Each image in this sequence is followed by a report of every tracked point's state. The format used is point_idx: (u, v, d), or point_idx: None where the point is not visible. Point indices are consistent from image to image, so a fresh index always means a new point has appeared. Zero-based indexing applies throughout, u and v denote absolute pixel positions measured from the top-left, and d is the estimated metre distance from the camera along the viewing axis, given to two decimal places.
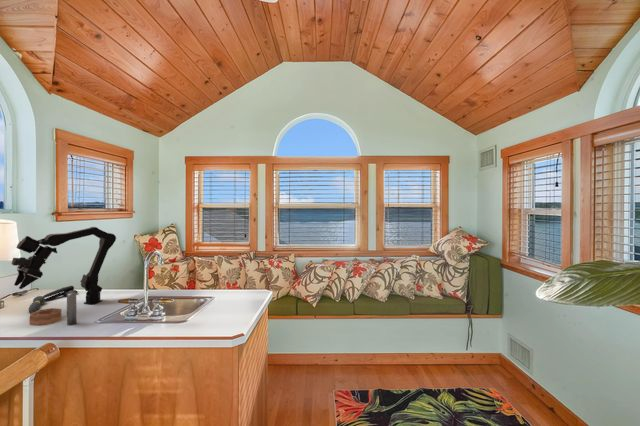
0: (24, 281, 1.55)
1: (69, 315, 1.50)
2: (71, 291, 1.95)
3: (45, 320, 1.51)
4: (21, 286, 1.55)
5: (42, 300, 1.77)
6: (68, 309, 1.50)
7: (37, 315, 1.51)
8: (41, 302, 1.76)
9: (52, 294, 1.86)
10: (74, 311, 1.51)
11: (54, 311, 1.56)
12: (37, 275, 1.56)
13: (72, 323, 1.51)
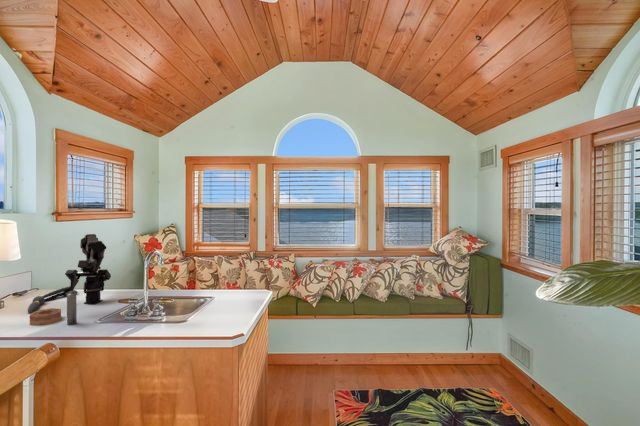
0: (96, 282, 1.61)
1: (69, 315, 1.50)
2: (71, 291, 1.95)
3: (45, 320, 1.51)
4: (93, 287, 1.60)
5: (42, 300, 1.77)
6: (68, 309, 1.50)
7: (37, 315, 1.51)
8: (41, 302, 1.76)
9: (52, 294, 1.86)
10: (74, 311, 1.51)
11: (54, 311, 1.56)
12: (109, 276, 1.66)
13: (72, 323, 1.51)
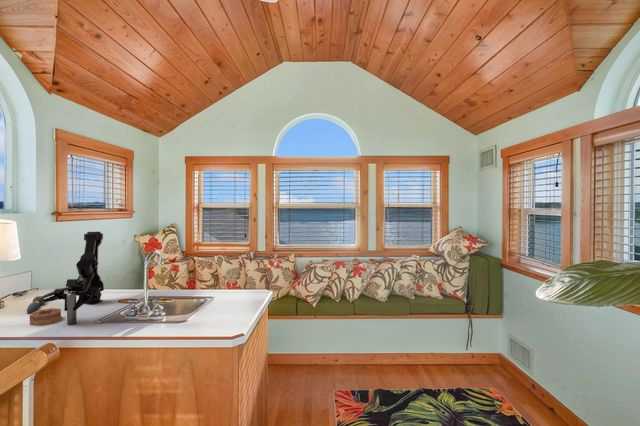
0: (79, 302, 1.53)
1: (68, 315, 1.50)
2: None
3: (45, 320, 1.51)
4: (76, 307, 1.51)
5: (41, 300, 1.76)
6: (68, 309, 1.50)
7: (37, 315, 1.51)
8: (40, 302, 1.76)
9: (51, 295, 1.85)
10: (74, 311, 1.51)
11: (54, 311, 1.56)
12: (99, 295, 1.58)
13: (72, 323, 1.51)
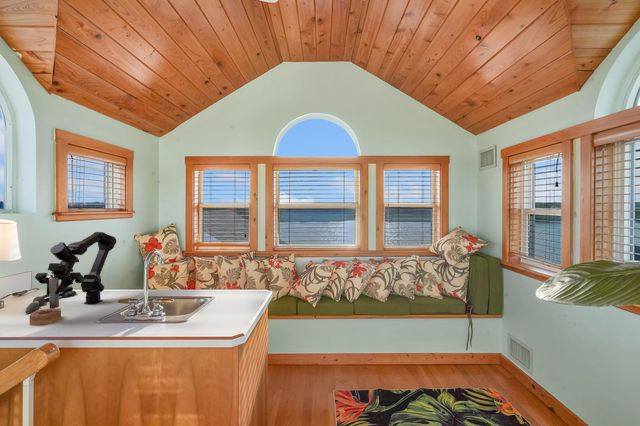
0: (62, 286, 1.55)
1: (51, 298, 1.52)
2: (70, 292, 1.94)
3: (45, 320, 1.51)
4: (58, 291, 1.53)
5: (41, 300, 1.76)
6: (50, 292, 1.52)
7: (37, 315, 1.51)
8: (40, 302, 1.76)
9: None
10: (56, 294, 1.53)
11: (54, 311, 1.56)
12: (82, 279, 1.60)
13: (54, 306, 1.53)
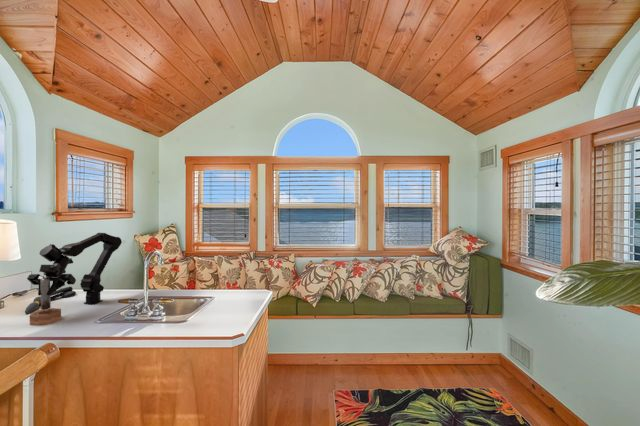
0: (53, 287, 1.56)
1: (42, 300, 1.53)
2: (69, 292, 1.93)
3: (45, 320, 1.51)
4: (50, 292, 1.54)
5: None
6: (42, 294, 1.53)
7: (37, 315, 1.51)
8: None
9: (50, 295, 1.84)
10: (48, 296, 1.54)
11: (54, 311, 1.56)
12: (73, 281, 1.61)
13: (46, 307, 1.54)
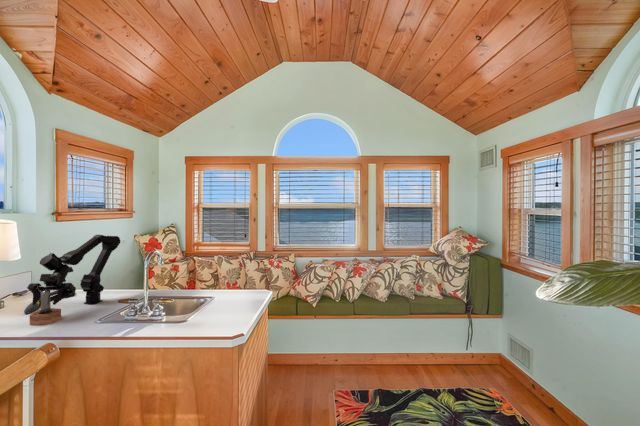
0: (59, 296, 1.56)
1: (42, 312, 1.53)
2: None
3: (45, 320, 1.51)
4: (55, 301, 1.55)
5: None
6: (42, 306, 1.53)
7: (37, 315, 1.51)
8: None
9: (50, 295, 1.84)
10: (48, 308, 1.54)
11: (54, 311, 1.56)
12: (73, 290, 1.61)
13: None
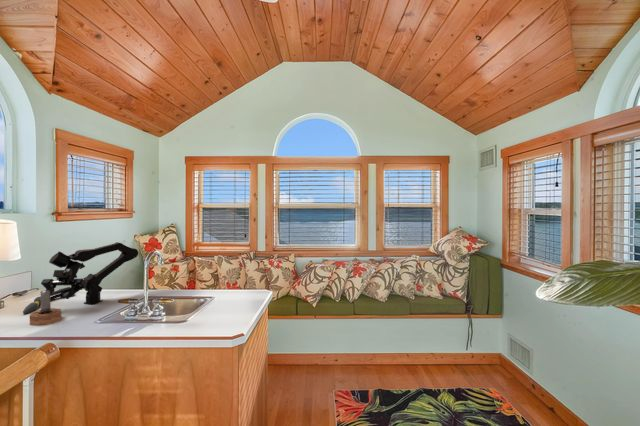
0: (72, 291, 1.65)
1: (42, 312, 1.53)
2: (68, 292, 1.92)
3: (45, 320, 1.51)
4: (68, 296, 1.63)
5: None
6: (42, 306, 1.53)
7: (37, 315, 1.51)
8: None
9: None
10: (48, 308, 1.54)
11: (54, 311, 1.56)
12: (85, 285, 1.70)
13: None
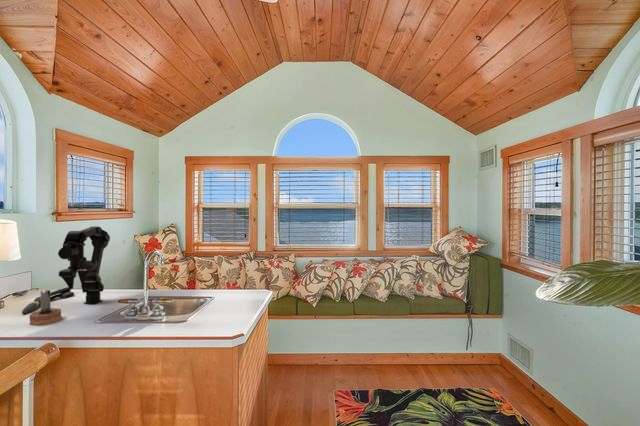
0: None
1: (42, 312, 1.53)
2: (68, 293, 1.92)
3: (45, 320, 1.51)
4: None
5: None
6: (42, 306, 1.53)
7: (37, 315, 1.51)
8: None
9: None
10: (48, 308, 1.54)
11: (54, 311, 1.56)
12: None
13: None
